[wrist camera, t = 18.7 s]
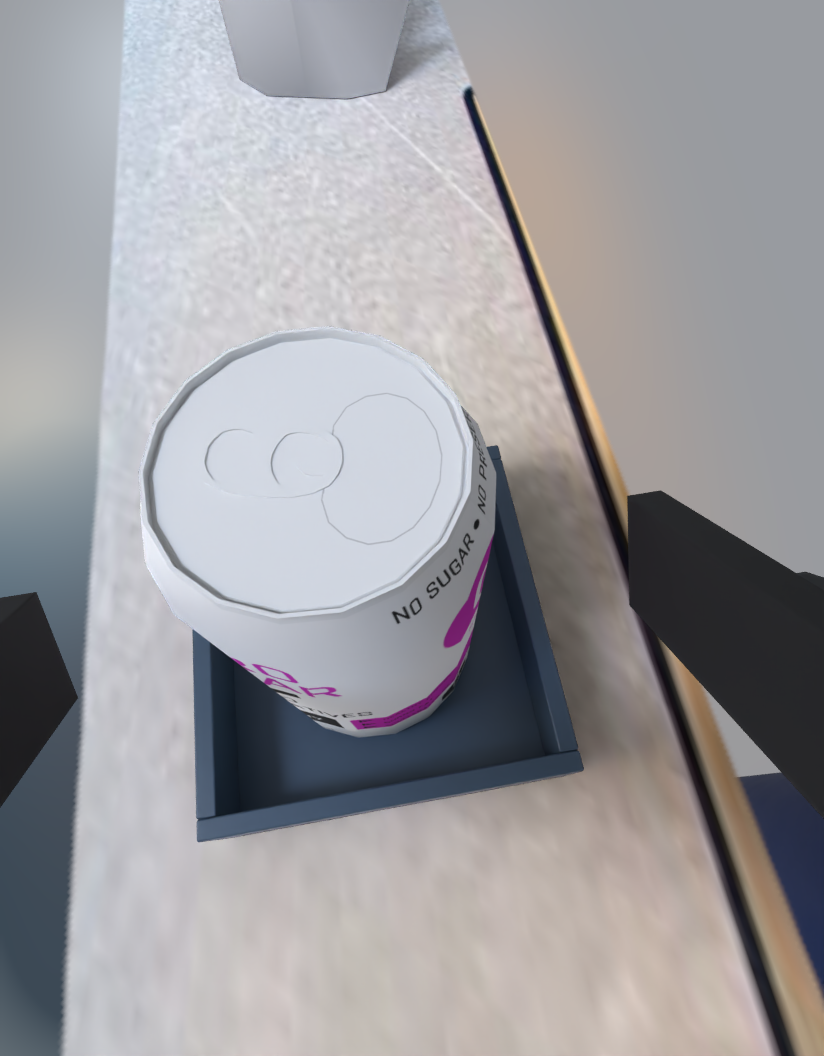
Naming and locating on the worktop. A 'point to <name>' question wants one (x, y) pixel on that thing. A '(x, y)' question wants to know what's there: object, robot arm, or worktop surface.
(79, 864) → the worktop surface
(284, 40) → the toilet tissue
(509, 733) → the blue open tray
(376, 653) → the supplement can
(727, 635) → the robot arm
